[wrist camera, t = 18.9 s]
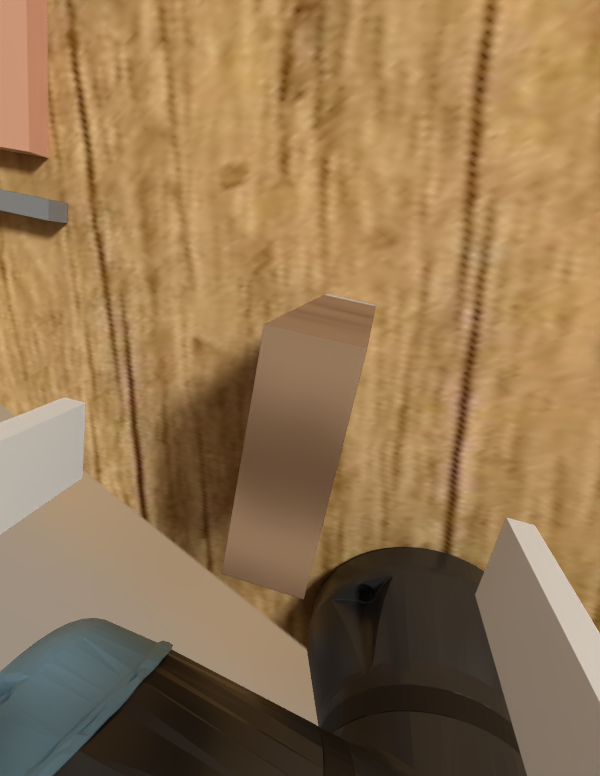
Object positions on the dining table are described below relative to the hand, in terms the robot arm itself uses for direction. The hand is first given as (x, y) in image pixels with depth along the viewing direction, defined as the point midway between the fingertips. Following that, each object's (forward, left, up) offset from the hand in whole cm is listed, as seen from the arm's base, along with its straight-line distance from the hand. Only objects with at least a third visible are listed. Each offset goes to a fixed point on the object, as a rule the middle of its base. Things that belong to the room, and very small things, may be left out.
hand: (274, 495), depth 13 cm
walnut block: (0, 0, -15) cm, 15 cm away
